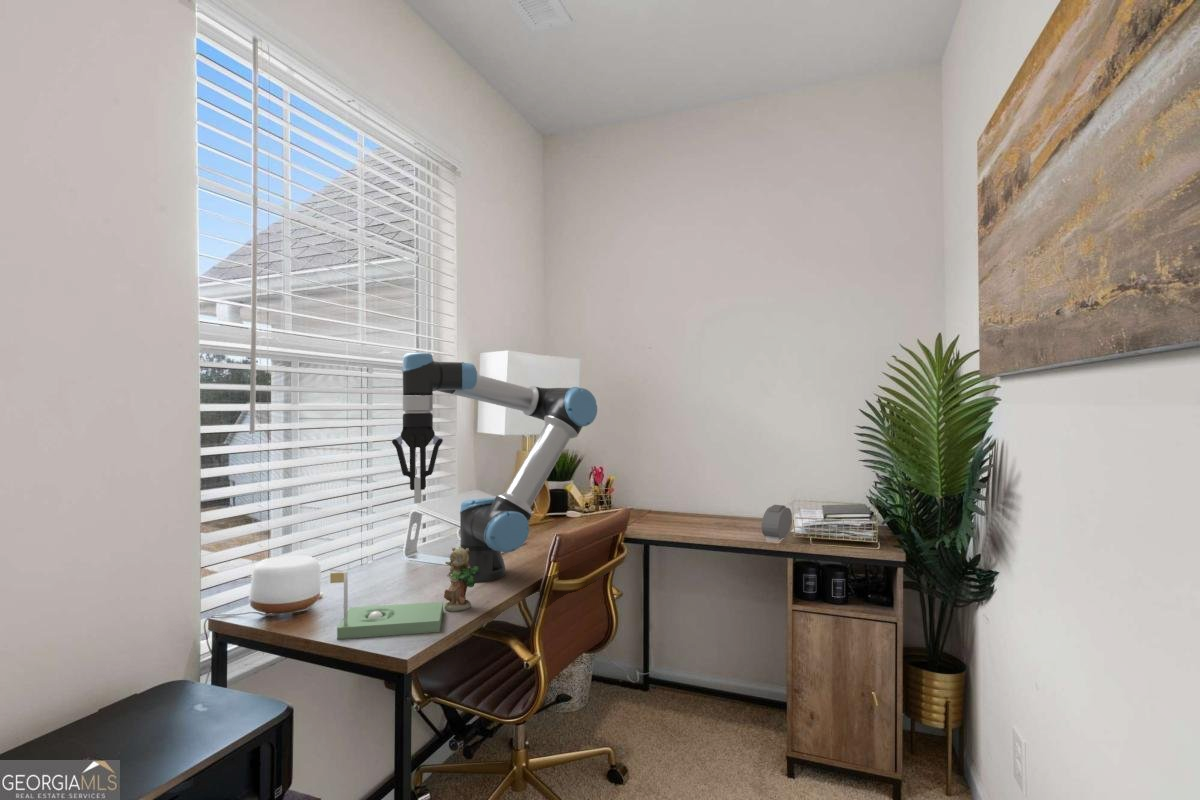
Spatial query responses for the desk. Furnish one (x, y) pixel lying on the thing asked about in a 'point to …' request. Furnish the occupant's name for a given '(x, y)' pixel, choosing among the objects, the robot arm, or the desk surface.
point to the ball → (375, 615)
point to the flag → (341, 578)
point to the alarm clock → (776, 522)
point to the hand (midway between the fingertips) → (417, 502)
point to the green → (392, 620)
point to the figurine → (459, 580)
